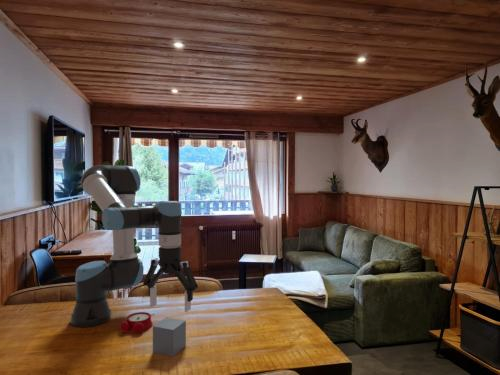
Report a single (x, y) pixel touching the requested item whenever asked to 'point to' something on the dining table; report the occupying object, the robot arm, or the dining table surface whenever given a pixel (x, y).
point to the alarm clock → (137, 323)
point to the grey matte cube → (169, 336)
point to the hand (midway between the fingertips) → (170, 308)
